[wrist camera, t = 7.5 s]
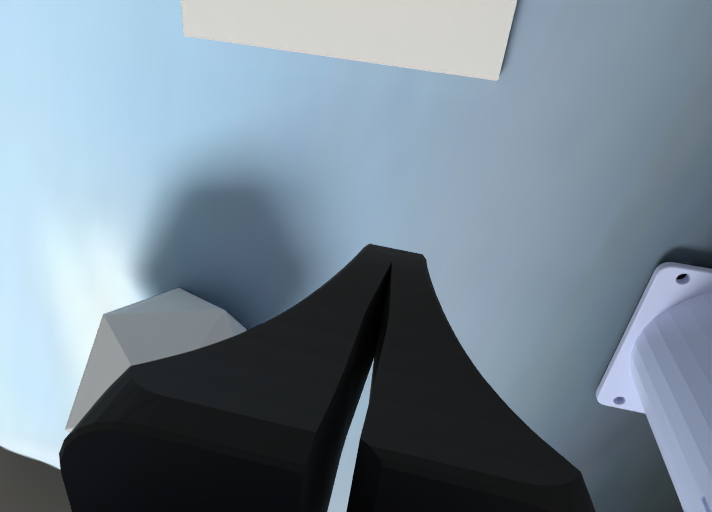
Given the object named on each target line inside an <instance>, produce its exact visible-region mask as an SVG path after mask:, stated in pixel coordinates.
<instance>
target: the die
mask: <svg viewBox="0 0 712 512" xmlns="http://www.w3.org/2000/svg"><path fill="white" fill-rule="evenodd" d="M245 331H247V329H245V328H244V327H243V326H242V325H241V324H240V323H239V322H238V321H236V320H235V319H234V318H233V317H232V316H231V315H230V314H229V313H227V312H226V311H225V310H223V309H221V308H219V307H217V306H215V305H213V304H211V303H209V302H207V301H205V300H203V299H201V298H199V297H197V296H195V295H193V294H191V293H189V292H187V291H185V290H183V289H181V288H176V289H173V290H170V291H168V292H165V293H162V294H159V295H156V296H154V297H151V298H148V299H145V300H142V301H139V302H137V303H134V304H131V305H128V306H125V307H123V308H120V309H117V310H114V311H111V312H108V313H106V314H103V316H102V319H101V322H100V325H99V328H98V331H97V334H96V338H95V341H94V344H93V347H92V350H91V353H90V356H89V359H88V362H87V365H86V368H85V371H84V374H83V377H82V380H81V383H80V386H79V389H78V392H77V395H76V398H75V401H74V404H73V407H72V410H71V413H70V416H69V419H68V422H67V425H66V428H65V430H67V431H68V432H71V431H72V430H73V429H74V428H75V426H76V425H77V424H78V423H79V422H80V420H81V419H82V418H83V417H84V416H85V414H86V413H87V412H88V411H89V410H90V408H91V407H92V406H93V405H94V404H95V402H96V401H97V400H98V399H99V398H100V397H101V396H102V394H103V393H104V392H105V391H106V390H107V389H108V388H109V387H110V385H112V384H113V383H114V382H115V381H116V380H117V379H118V378H119V377H120V376H121V375H122V374H123V373H124V372H125V371H126V370H127V369H128V368H129V367H130V366H132V365H137V364H142V363H146V362H150V361H154V360H158V359H162V358H166V357H170V356H174V355H178V354H182V353H186V352H189V351H192V350H196V349H199V348H202V347H205V346H208V345H211V344H214V343H217V342H220V341H222V340H225V339H228V338H230V337H233V336H236V335H238V334H240V333H242V332H245Z"/></svg>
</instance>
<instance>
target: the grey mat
mask: <svg viewBox="0 0 712 512" xmlns="http://www.w3.org/2000/svg"><path fill="white" fill-rule="evenodd" d="M516 3H517V0H181V5H182V19H183V34H184V36H188V37H195V38H202V39H209V40H216V41H223V42H230V43H237V44H244V45H251V46H258V47H265V48H272V49H279V50H286V51H293V52H300V53H307V54H314V55H321V56H328V57H334V58H341V59H348V60H355V61H362V62H369V63H376V64H383V65H390V66H397V67H404V68H411V69H418V70H425V71H432V72H439V73H446V74H453V75H460V76H467V77H474V78H481V79H488V80H495V81H498V79H499V75H500V70H501V66H502V62H503V58H504V54H505V50H506V45H507V41H508V37H509V33H510V29H511V24H512V20H513V16H514V12H515V8H516Z"/></svg>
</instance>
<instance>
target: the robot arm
mask: <svg viewBox="0 0 712 512" xmlns="http://www.w3.org/2000/svg"><path fill="white" fill-rule="evenodd" d="M680 274H687V275H686V276H685V277H684V278H682V279H676V278H677V277H678V275H680ZM373 359H374V364H373V373H372V382H371V390H370V399H369V406H368V410H367V414H366V418H365V422H364V426H363V429H362V433H361V437H360V442H359V448H358V453H357V458H356V464H355V469H354V474H353V480H352V485H351V491H350V496H349V501H348V507H347V512H595V509H594V506H593V503H592V501H591V498H590V495H589V493H588V490H587V487H586V485H585V482H584V479H583V477H582V474H581V472H580V471H579V470H578V469H577V468H576V467H574V466H573V465H572V464H571V463H570V462H568V461H567V460H566V459H565V458H564V457H563V456H561V455H560V454H559V453H558V452H557V451H555V450H554V449H553V448H552V447H551V446H550V445H548V444H547V443H546V442H545V441H544V440H542V439H541V438H540V437H539V436H538V435H537V434H536V433H535V432H533V431H532V430H531V429H530V428H529V427H528V426H527V425H526V424H525V423H524V422H523V421H522V420H521V419H520V418H519V417H518V416H517V415H516V414H515V413H514V412H513V411H512V410H511V409H510V408H509V407H508V406H507V404H506V403H505V402H504V401H503V400H502V399H501V398H500V397H499V396H498V394H497V393H496V392H495V391H494V390H493V388H492V387H491V386H490V385H489V384H488V383H487V381H486V380H485V379H484V378H483V377H482V375H481V374H480V373H479V371H478V370H477V368H476V367H475V366H474V364H473V363H472V361H471V360H470V358H469V357H468V355H467V354H466V352H465V351H464V349H463V347H462V346H461V344H460V342H459V341H458V339H457V337H456V336H455V334H454V332H453V330H452V328H451V326H450V324H449V322H448V320H447V318H446V316H445V314H444V312H443V310H442V307H441V305H440V303H439V300H438V298H437V296H436V293H435V290H434V288H433V285H432V282H431V279H430V275H429V272H428V268H427V262H426V259H425V257H424V256H423V254H418V253H413V252H408V251H403V250H398V249H393V248H388V247H383V246H378V245H373V244H369V245H367V246H365V247H364V248H363V249H362V250H361V251H360V252H359V253H358V254H357V256H356V257H355V258H354V259H353V260H352V261H350V262H349V263H348V264H347V265H346V266H345V267H344V268H343V269H342V270H341V271H340V272H338V273H337V274H336V275H335V276H334V277H332V278H331V279H330V280H329V281H328V282H327V283H325V284H324V285H323V286H321V287H320V288H319V289H317V290H316V291H315V292H313V293H312V294H310V295H309V296H308V297H306V298H305V299H304V300H302V301H301V302H299V303H298V304H296V305H295V306H293V307H291V308H290V309H288V310H287V311H285V312H283V313H281V314H280V315H278V316H276V317H274V318H273V319H271V320H269V321H267V322H265V323H262V324H260V325H258V326H256V327H254V328H251V329H249V330H247V331H245V332H242V333H240V334H238V335H236V336H233V337H230V338H228V339H225V340H222V341H220V342H217V343H214V344H211V345H208V346H205V347H202V348H199V349H196V350H192V351H189V352H186V353H182V354H178V355H174V356H170V357H166V358H162V359H158V360H154V361H150V362H146V363H142V364H137V365H132V366H130V367H129V368H128V369H127V370H126V371H125V372H124V373H123V374H122V375H121V376H120V377H119V378H118V379H117V380H116V381H115V382H114V383H113V384H112V385H110V387H109V388H108V389H107V390H106V391H105V392H104V393H103V394H102V396H101V397H100V398H99V399H98V400H97V401H96V402H95V404H94V405H93V406H92V407H91V408H90V410H89V411H88V412H87V413H86V414H85V416H84V417H83V418H82V419H81V420H80V422H79V423H78V424H77V425H76V426H75V428H74V429H73V430H72V431H71V432H70V434H69V435H68V436H67V437H66V438H65V440H64V442H63V445H62V447H61V450H60V453H59V458H60V468H61V473H62V477H63V481H64V484H65V488H66V491H67V495H68V498H69V502H70V505H71V509H72V512H327V510H328V506H329V502H330V498H331V494H332V489H333V485H334V481H335V477H336V473H337V469H338V465H339V461H340V457H341V453H342V449H343V446H344V443H345V439H346V436H347V433H348V430H349V427H350V425H351V422H352V419H353V416H354V413H355V410H356V408H357V405H358V402H359V399H360V396H361V393H362V391H363V388H364V385H365V382H366V379H367V376H368V373H369V371H370V368H371V365H372V362H373ZM596 397H597V400H598V402H600V403H601V404H603V405H607V406H612V407H617V408H621V409H626V410H631V411H636V412H641V413H646V416H647V418H648V421H649V423H650V426H651V428H652V431H653V433H654V436H655V439H656V441H657V444H658V446H659V449H660V451H661V454H662V456H663V459H664V461H665V464H666V467H667V469H668V472H669V474H670V477H671V479H672V482H673V484H674V487H675V489H676V492H677V495H678V497H679V500H680V502H681V505H682V507H683V510H684V512H712V269H710V268H704V267H698V266H692V265H687V264H681V263H675V262H666V263H662V264H661V265H659V266H658V267H657V268H656V269H655V271H654V273H653V275H652V277H651V279H650V281H649V283H648V285H647V287H646V289H645V291H644V293H643V296H642V298H641V300H640V302H639V304H638V306H637V308H636V310H635V312H634V314H633V316H632V318H631V320H630V322H629V324H628V327H627V329H626V331H625V333H624V335H623V337H622V339H621V341H620V343H619V345H618V347H617V349H616V351H615V353H614V355H613V358H612V360H611V362H610V364H609V366H608V368H607V370H606V372H605V374H604V376H603V378H602V380H601V382H600V384H599V387H598V389H597V391H596ZM616 397H621V398H619V399H615V398H616Z"/></svg>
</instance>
